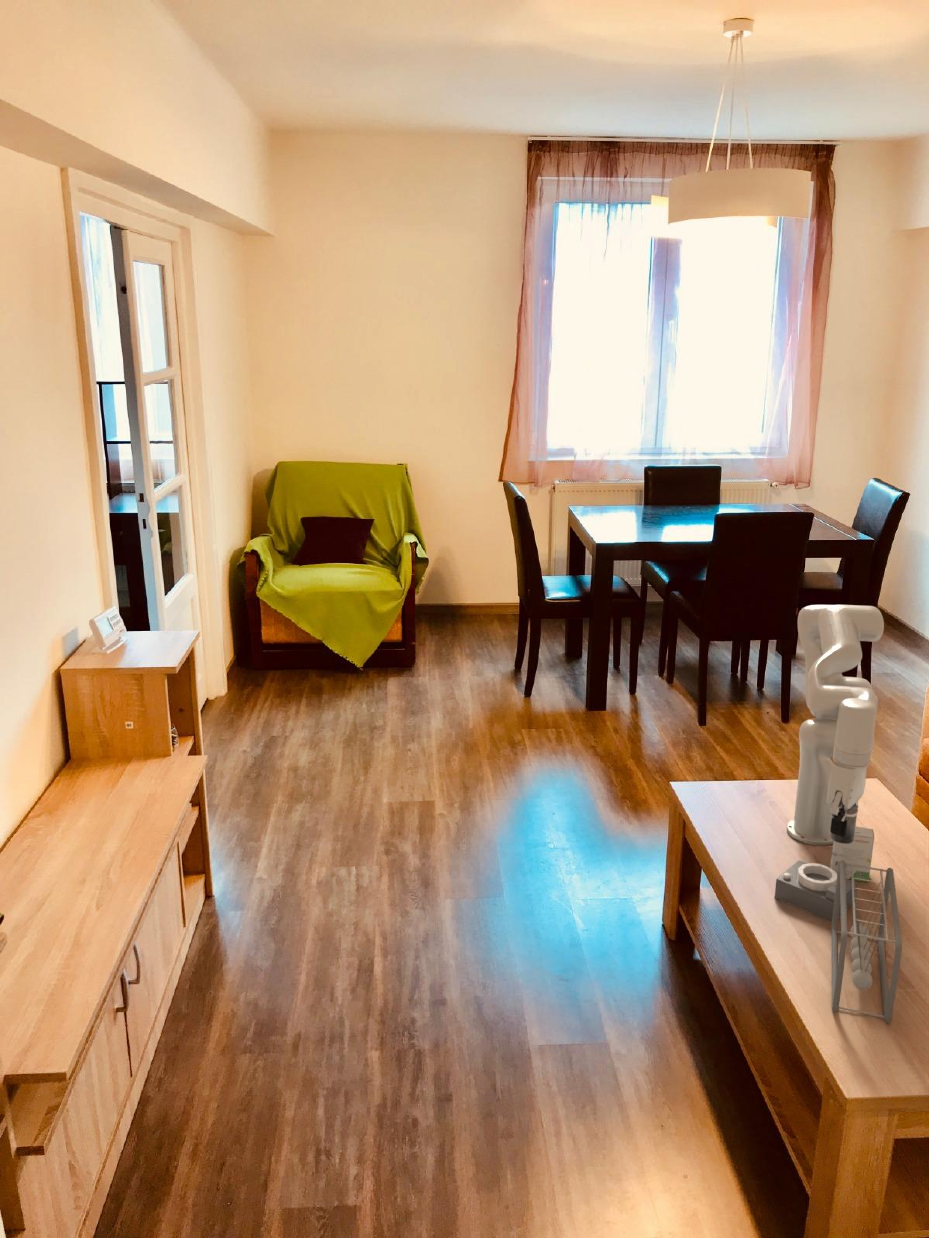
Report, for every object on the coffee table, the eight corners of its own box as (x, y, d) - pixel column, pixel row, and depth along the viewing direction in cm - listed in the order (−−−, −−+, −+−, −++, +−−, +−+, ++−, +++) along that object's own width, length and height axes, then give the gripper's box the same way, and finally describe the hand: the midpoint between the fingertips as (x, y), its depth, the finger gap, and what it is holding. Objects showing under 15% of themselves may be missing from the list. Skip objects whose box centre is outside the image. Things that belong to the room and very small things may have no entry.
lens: (835, 829, 219) (839, 797, 216) (857, 837, 215) (861, 805, 213) (826, 838, 215) (830, 806, 213) (848, 846, 212) (853, 813, 209)
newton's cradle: (831, 926, 212) (839, 855, 207) (882, 936, 209) (893, 863, 203) (831, 1016, 185) (841, 936, 180) (890, 1028, 182) (902, 947, 176)
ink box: (830, 876, 231) (835, 832, 227) (829, 865, 236) (834, 822, 232) (868, 882, 228) (874, 838, 225) (867, 871, 233) (873, 827, 229)
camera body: (797, 878, 230) (799, 852, 228) (854, 902, 221) (858, 875, 219) (774, 897, 223) (777, 870, 221) (833, 922, 213) (836, 895, 211)
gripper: (850, 737, 217) (841, 809, 223) (818, 763, 205) (810, 839, 211) (884, 746, 213) (874, 820, 218) (854, 773, 201) (844, 851, 206)
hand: (842, 828), depth 215 cm, fingers closed on lens, 4 cm apart
